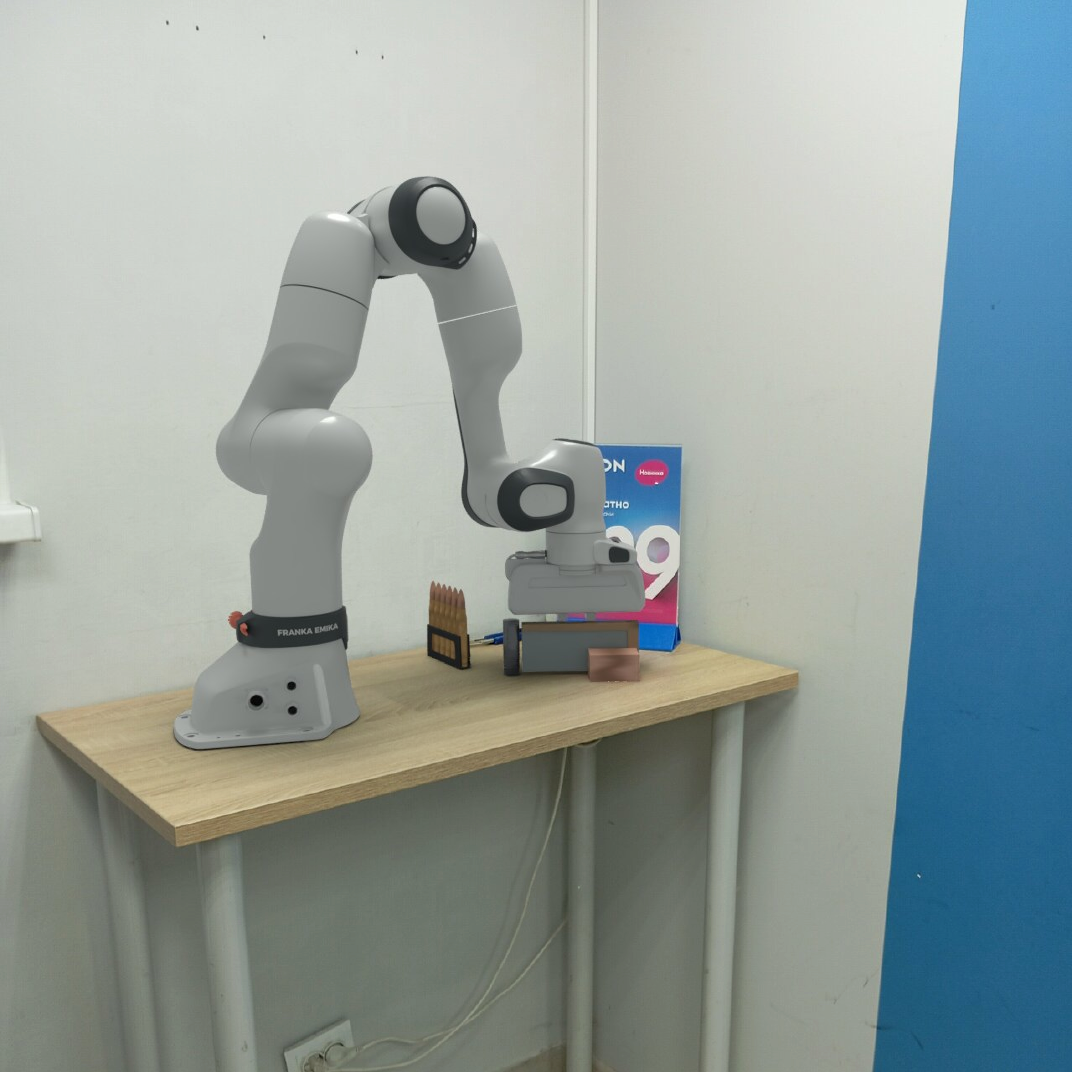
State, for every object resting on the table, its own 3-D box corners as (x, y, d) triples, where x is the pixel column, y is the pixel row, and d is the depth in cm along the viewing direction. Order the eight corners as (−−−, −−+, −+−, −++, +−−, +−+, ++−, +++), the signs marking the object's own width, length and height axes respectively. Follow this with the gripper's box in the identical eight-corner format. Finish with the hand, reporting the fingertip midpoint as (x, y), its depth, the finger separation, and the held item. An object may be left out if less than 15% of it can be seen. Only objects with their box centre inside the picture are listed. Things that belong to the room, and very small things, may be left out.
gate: (522, 672, 148) (521, 624, 148) (522, 668, 150) (521, 621, 150) (638, 670, 149) (638, 623, 148) (637, 666, 151) (637, 620, 150)
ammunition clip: (471, 668, 153) (469, 589, 152) (460, 670, 152) (458, 590, 151) (437, 653, 162) (435, 579, 160) (426, 655, 161) (424, 580, 159)
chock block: (590, 682, 145) (589, 655, 144) (588, 675, 149) (587, 648, 148) (639, 682, 145) (639, 654, 144) (636, 674, 149) (636, 647, 148)
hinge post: (507, 676, 148) (506, 622, 147) (501, 672, 150) (500, 619, 149) (522, 674, 149) (521, 620, 148) (516, 670, 151) (515, 617, 150)
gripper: (506, 554, 146) (507, 649, 147) (647, 551, 147) (647, 645, 149) (503, 548, 152) (505, 639, 154) (639, 545, 153) (639, 635, 155)
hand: (576, 642), depth 151 cm, fingers closed
